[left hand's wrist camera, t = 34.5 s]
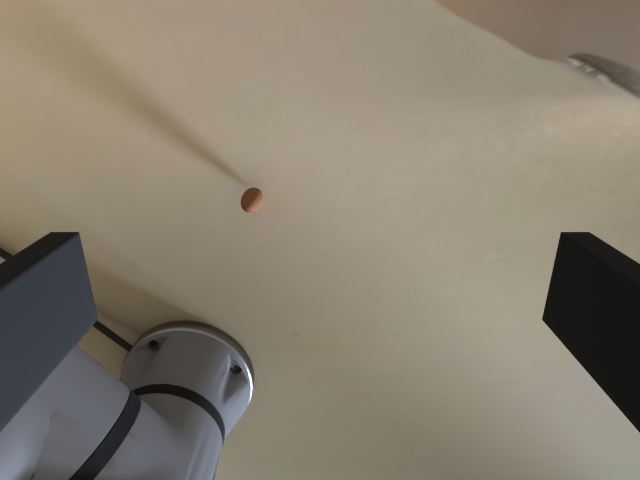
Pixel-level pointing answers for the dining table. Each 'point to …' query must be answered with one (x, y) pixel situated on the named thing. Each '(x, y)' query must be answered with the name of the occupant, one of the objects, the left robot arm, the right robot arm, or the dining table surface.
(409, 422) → the dining table surface
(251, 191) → the brown ellipsoid
